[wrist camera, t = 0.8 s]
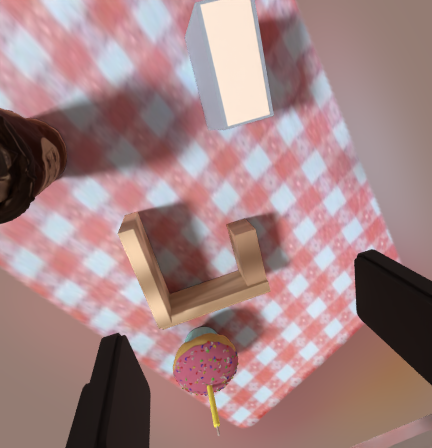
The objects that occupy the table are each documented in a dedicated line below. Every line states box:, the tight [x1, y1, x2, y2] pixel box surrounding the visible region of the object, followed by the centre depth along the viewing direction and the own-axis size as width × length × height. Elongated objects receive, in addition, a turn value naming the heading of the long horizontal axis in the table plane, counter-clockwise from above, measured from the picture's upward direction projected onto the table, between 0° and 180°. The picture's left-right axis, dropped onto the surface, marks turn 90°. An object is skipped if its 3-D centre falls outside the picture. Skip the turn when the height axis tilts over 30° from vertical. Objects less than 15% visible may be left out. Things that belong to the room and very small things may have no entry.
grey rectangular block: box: [185, 0, 274, 130], centre depth 25 cm, size 9×4×8 cm, turn 14°
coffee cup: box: [0, 108, 67, 224], centre depth 21 cm, size 9×8×13 cm
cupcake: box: [173, 327, 238, 435], centre depth 34 cm, size 9×8×12 cm
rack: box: [118, 212, 270, 330], centre depth 32 cm, size 14×14×6 cm
